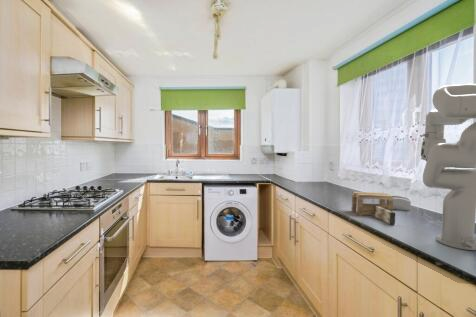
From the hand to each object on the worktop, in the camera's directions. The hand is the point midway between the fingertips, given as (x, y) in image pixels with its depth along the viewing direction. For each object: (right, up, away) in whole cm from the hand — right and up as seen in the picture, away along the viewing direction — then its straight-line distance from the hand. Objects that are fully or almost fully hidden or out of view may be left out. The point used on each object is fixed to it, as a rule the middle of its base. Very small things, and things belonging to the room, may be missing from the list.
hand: (432, 171), depth 120 cm
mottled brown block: (-25, -26, +1) cm, 36 cm away
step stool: (-24, -26, +14) cm, 38 cm away
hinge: (-2, -26, +26) cm, 37 cm away
